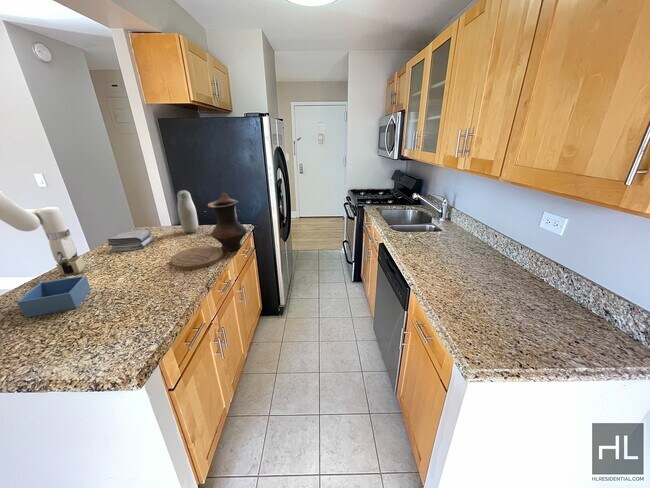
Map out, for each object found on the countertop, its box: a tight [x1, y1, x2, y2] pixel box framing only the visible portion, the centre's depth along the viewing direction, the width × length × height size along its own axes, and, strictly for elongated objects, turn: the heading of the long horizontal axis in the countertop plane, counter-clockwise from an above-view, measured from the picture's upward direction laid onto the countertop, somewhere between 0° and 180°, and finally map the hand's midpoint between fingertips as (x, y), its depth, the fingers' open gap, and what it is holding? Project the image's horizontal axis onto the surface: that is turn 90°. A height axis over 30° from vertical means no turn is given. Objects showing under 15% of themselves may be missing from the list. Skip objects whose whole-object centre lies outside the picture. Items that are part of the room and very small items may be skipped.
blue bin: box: [16, 275, 92, 319], centre depth 98 cm, size 14×14×7 cm
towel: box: [107, 229, 154, 253], centre depth 151 cm, size 15×18×8 cm
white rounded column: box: [176, 189, 199, 234], centre depth 169 cm, size 10×10×28 cm
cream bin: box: [55, 255, 87, 276], centre depth 122 cm, size 7×7×6 cm
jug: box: [207, 192, 248, 253], centre depth 144 cm, size 21×18×30 cm
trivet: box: [169, 245, 225, 271], centre depth 135 cm, size 25×25×2 cm
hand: (73, 269), depth 123 cm, fingers closed on cream bin, 7 cm apart
